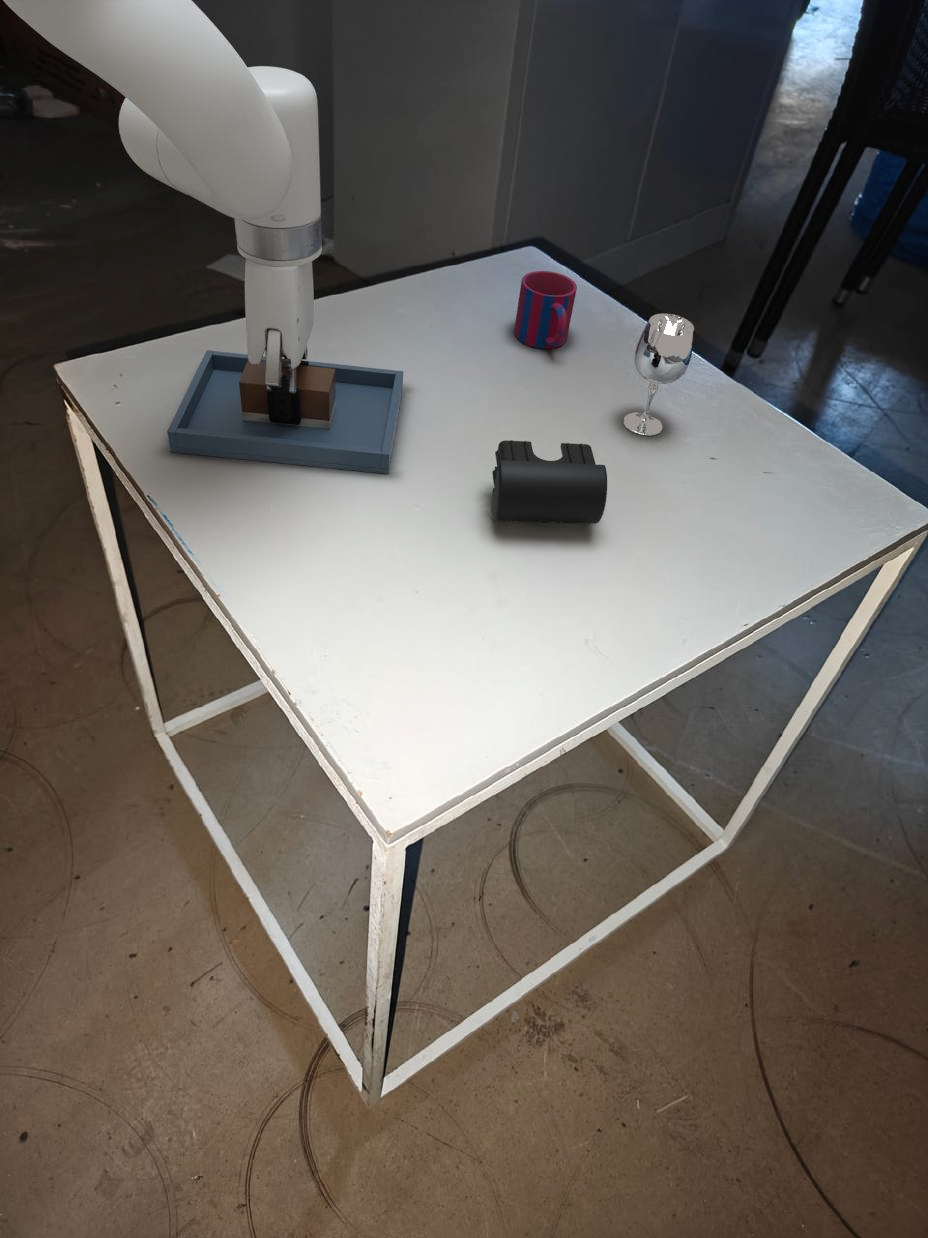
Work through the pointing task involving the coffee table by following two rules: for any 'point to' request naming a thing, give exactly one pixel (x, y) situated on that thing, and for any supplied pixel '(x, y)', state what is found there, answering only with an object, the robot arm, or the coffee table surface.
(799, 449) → the coffee table surface
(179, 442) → the tray
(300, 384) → the eraser
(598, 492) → the end cap
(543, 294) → the mug
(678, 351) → the wineglass
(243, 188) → the robot arm
